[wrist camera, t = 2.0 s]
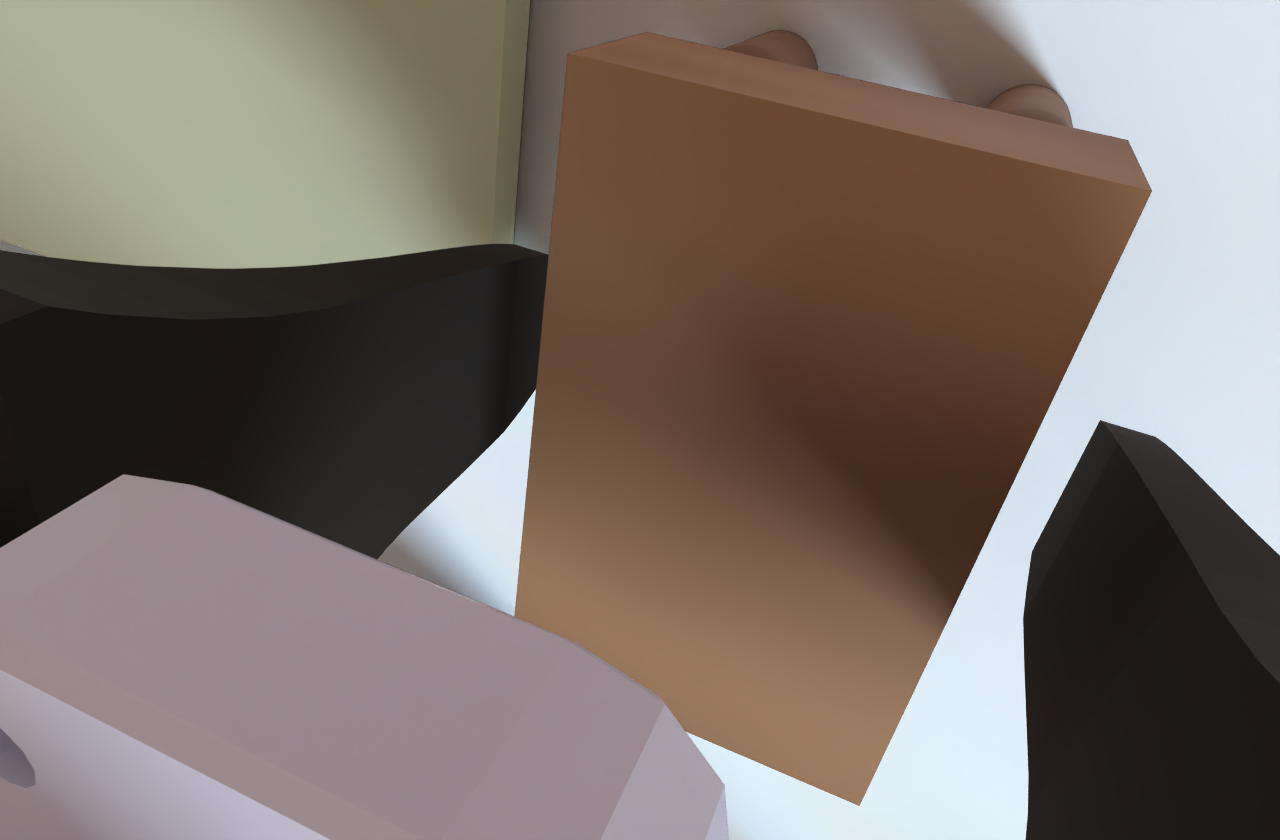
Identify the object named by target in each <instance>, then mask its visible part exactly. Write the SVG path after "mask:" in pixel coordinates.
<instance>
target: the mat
mask: <svg viewBox="0 0 1280 840" xmlns="http://www.w3.org/2000/svg"><path fill="white" fill-rule="evenodd" d="M529 13H530V0H0V240H1V241H3V242H6V243H9V244H12V245H15V246H18V247H20V248H23V249H26V250H29V251H32V252H34V253H37V254H40V255H43V256H46V257H52V258H61V259H70V260H78V261H88V262H99V263H110V264H122V265H135V266H159V267H187V268H215V269H237V268H273V267H292V266H306V265H318V264H327V263H337V262H346V261H355V260H364V259H373V258H382V257H389V256H397V255H404V254H411V253H418V252H425V251H432V250H439V249H447V248H454V247H462V246H471V245H481V244H513V240H514V226H515V211H516V197H517V183H518V169H519V155H520V140H521V126H522V112H523V98H524V84H525V69H526V55H527V41H528V27H529Z"/></svg>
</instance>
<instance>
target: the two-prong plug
mask: <svg viewBox="0 0 1280 840" xmlns="http://www.w3.org/2000/svg"><path fill="white" fill-rule="evenodd" d="M1151 192H1152V190H1151V188H1150V186H1149V184H1148V182H1147V179H1146V177H1145V175H1144V173H1143V171H1142V169H1141V167H1140V165H1139V163H1138V160H1137V158H1136V156H1135V154H1134V152H1133V150H1132V148H1131V146H1130V144H1129V141H1128V140H1125V139H1120V138H1116V137H1111V136H1107V135H1102V134H1098V133H1093V132H1089V131H1085V130H1080V129H1076V128H1073V125H1072V120H1071V116H1070V112H1069V109H1068V107H1067V105H1066V103H1065V101H1064V100H1063V99H1062V98H1061V96H1059V95H1058V94H1057V93H1056V92H1054V91H1053V90H1051V89H1049V88H1047V87H1043V86H1040V85H1021V86H1017V87H1014V88H1011V89H1009V90H1007V91H1005V92H1003V93H1002V94H1000V95H999V96H997V97H996V98H995V99H994V100H993V101H992V102H991V103H990V104H989V105H988V107H987V108H982V107H978V106H973V105H969V104H964V103H960V102H955V101H951V100H946V99H942V98H938V97H933V96H929V95H924V94H920V93H915V92H911V91H906V90H902V89H897V88H893V87H889V86H884V85H880V84H875V83H871V82H866V81H862V80H857V79H853V78H848V77H844V76H840V75H835V74H831V73H826V72H822V71H818V68H817V61H816V58H815V55H814V53H813V51H812V49H811V47H810V46H809V45H808V43H807V42H806V41H805V40H804V39H802V38H801V37H800V36H798V35H796V34H794V33H792V32H788V31H783V30H776V31H771V32H767V33H765V34H762V35H759V36H757V37H754V38H751V39H749V40H746V41H744V42H741V43H738V44H736V45H733V46H731V47H728V48H725V49H719V48H715V47H710V46H706V45H701V44H697V43H693V42H688V41H684V40H679V39H675V38H670V37H666V36H661V35H657V34H652V33H648V32H646V33H642V34H639V35H635V36H631V37H627V38H623V39H619V40H616V41H612V42H608V43H604V44H600V45H597V46H593V47H589V48H585V49H581V50H577V51H574V52H570V53H568V57H567V67H566V78H565V88H564V99H563V110H562V120H561V131H560V141H559V152H558V162H557V173H556V184H555V194H554V205H553V215H552V226H551V236H550V247H549V258H548V268H547V279H546V289H545V300H544V310H543V321H542V332H541V342H540V353H539V363H538V374H537V384H536V395H535V406H534V416H533V427H532V437H531V448H530V458H529V469H528V480H527V490H526V501H525V511H524V522H523V532H522V543H521V554H520V564H519V575H518V585H517V596H516V606H515V617H516V618H518V619H521V620H523V621H526V622H528V623H530V624H533V625H535V626H538V627H540V628H542V629H545V630H547V631H550V632H552V633H554V634H557V635H559V636H562V637H564V638H566V639H569V640H571V641H574V642H576V643H578V644H579V645H581V646H582V647H584V648H585V649H587V650H589V651H590V652H592V653H593V654H595V655H596V656H598V657H599V658H601V659H603V660H604V661H606V662H607V663H609V664H610V665H612V666H613V667H615V668H617V669H618V670H620V671H621V672H623V673H624V674H626V675H627V676H629V677H631V678H632V679H634V680H635V681H637V682H638V683H640V684H642V685H643V686H645V687H646V688H648V689H649V690H651V691H652V692H654V693H656V694H657V695H659V696H660V697H661V699H662V700H663V702H664V703H665V704H666V706H667V707H668V708H669V710H670V711H671V713H672V714H673V715H674V717H675V718H676V719H677V721H678V722H679V723H680V725H681V726H682V728H683V729H684V730H685V731H686V732H688V733H691V734H693V735H695V736H698V737H700V738H702V739H705V740H707V741H709V742H712V743H714V744H716V745H719V746H721V747H723V748H726V749H728V750H730V751H733V752H735V753H737V754H740V755H742V756H744V757H747V758H749V759H751V760H754V761H756V762H758V763H761V764H763V765H765V766H768V767H770V768H772V769H775V770H777V771H779V772H782V773H784V774H786V775H789V776H791V777H793V778H796V779H798V780H800V781H803V782H805V783H807V784H810V785H812V786H814V787H817V788H819V789H821V790H824V791H826V792H828V793H831V794H833V795H835V796H838V797H840V798H842V799H845V800H847V801H849V802H852V803H854V804H856V805H859V806H860V803H861V801H862V799H863V797H864V795H865V793H866V791H867V789H868V787H869V785H870V782H871V780H872V778H873V776H874V774H875V772H876V770H877V768H878V766H879V764H880V761H881V759H882V757H883V755H884V753H885V751H886V749H887V747H888V745H889V743H890V740H891V738H892V736H893V734H894V732H895V730H896V728H897V726H898V724H899V722H900V719H901V717H902V715H903V713H904V711H905V709H906V707H907V705H908V703H909V701H910V698H911V696H912V694H913V692H914V690H915V688H916V686H917V684H918V682H919V679H920V677H921V675H922V673H923V671H924V669H925V667H926V665H927V663H928V661H929V658H930V656H931V654H932V652H933V650H934V648H935V646H936V644H937V642H938V640H939V637H940V635H941V633H942V631H943V629H944V627H945V625H946V623H947V621H948V619H949V616H950V614H951V612H952V610H953V608H954V606H955V604H956V602H957V600H958V598H959V595H960V593H961V591H962V589H963V587H964V585H965V583H966V581H967V579H968V577H969V574H970V572H971V570H972V568H973V566H974V564H975V562H976V560H977V558H978V556H979V553H980V551H981V549H982V547H983V545H984V543H985V541H986V539H987V537H988V534H989V532H990V530H991V528H992V526H993V524H994V522H995V520H996V518H997V516H998V513H999V511H1000V509H1001V507H1002V505H1003V503H1004V501H1005V499H1006V497H1007V495H1008V492H1009V490H1010V488H1011V486H1012V484H1013V482H1014V480H1015V478H1016V476H1017V474H1018V471H1019V469H1020V467H1021V465H1022V463H1023V461H1024V459H1025V457H1026V455H1027V453H1028V450H1029V448H1030V446H1031V444H1032V442H1033V440H1034V438H1035V436H1036V434H1037V432H1038V429H1039V427H1040V425H1041V423H1042V421H1043V419H1044V417H1045V415H1046V413H1047V411H1048V408H1049V406H1050V404H1051V402H1052V400H1053V398H1054V396H1055V394H1056V392H1057V390H1058V387H1059V385H1060V383H1061V381H1062V379H1063V377H1064V375H1065V373H1066V371H1067V368H1068V366H1069V364H1070V362H1071V360H1072V358H1073V356H1074V354H1075V352H1076V350H1077V347H1078V345H1079V343H1080V341H1081V339H1082V337H1083V335H1084V333H1085V331H1086V329H1087V326H1088V324H1089V322H1090V320H1091V318H1092V316H1093V314H1094V312H1095V310H1096V308H1097V305H1098V303H1099V301H1100V299H1101V297H1102V295H1103V293H1104V291H1105V289H1106V287H1107V284H1108V282H1109V280H1110V278H1111V276H1112V274H1113V272H1114V270H1115V268H1116V266H1117V263H1118V261H1119V259H1120V257H1121V255H1122V253H1123V251H1124V249H1125V247H1126V245H1127V242H1128V240H1129V238H1130V236H1131V234H1132V232H1133V230H1134V228H1135V226H1136V223H1137V221H1138V219H1139V217H1140V215H1141V213H1142V211H1143V209H1144V207H1145V205H1146V202H1147V200H1148V198H1149V196H1150V194H1151Z"/></svg>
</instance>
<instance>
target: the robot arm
mask: <svg viewBox="0 0 1280 840" xmlns="http://www.w3.org/2000/svg"><path fill="white" fill-rule="evenodd" d="M548 258H549V255H547V254H544V253H541V252H537V251H534V250H531V249H527V248H524V247H521V246H517V245H514V244H481V245H471V246H462V247H454V248H447V249H439V250H432V251H425V252H418V253H411V254H404V255H397V256H389V257H382V258H373V259H364V260H355V261H346V262H337V263H327V264H318V265H306V266H292V267H273V268H237V269H215V268H187V267H159V266H135V265H122V264H110V263H99V262H88V261H78V260H70V259H61V258H52V257H44V256H36V255H28V254H21V253H14V252H7V251H1V250H0V840H729V837H728V824H727V811H726V798H725V785H724V784H723V782H722V781H721V780H720V778H719V777H718V775H717V774H716V773H715V771H714V770H713V769H712V767H711V766H710V764H709V763H708V762H707V760H706V759H705V758H704V756H703V755H702V754H701V752H700V751H699V749H698V748H697V747H696V745H695V744H694V743H693V741H692V740H691V738H690V737H689V736H688V734H687V733H686V732H685V730H684V729H683V728H682V726H681V725H680V723H679V722H678V721H677V719H676V718H675V717H674V715H673V714H672V713H671V711H670V710H669V708H668V707H667V706H666V704H665V703H664V702H663V700H662V699H661V697H660V696H659V695H657V694H656V693H654V692H652V691H651V690H649V689H648V688H646V687H645V686H643V685H642V684H640V683H638V682H637V681H635V680H634V679H632V678H631V677H629V676H627V675H626V674H624V673H623V672H621V671H620V670H618V669H617V668H615V667H613V666H612V665H610V664H609V663H607V662H606V661H604V660H603V659H601V658H599V657H598V656H596V655H595V654H593V653H592V652H590V651H589V650H587V649H585V648H584V647H582V646H581V645H579V644H578V643H576V642H574V641H571V640H569V639H566V638H564V637H562V636H559V635H557V634H554V633H552V632H550V631H547V630H545V629H542V628H540V627H538V626H535V625H533V624H530V623H528V622H526V621H523V620H521V619H518V618H516V617H514V616H511V615H509V614H506V613H504V612H501V611H499V610H497V609H494V608H492V607H489V606H487V605H485V604H482V603H480V602H477V601H475V600H473V599H470V598H468V597H465V596H463V595H461V594H458V593H456V592H453V591H451V590H449V589H446V588H444V587H441V586H439V585H437V584H434V583H432V582H429V581H427V580H425V579H422V578H420V577H417V576H415V575H413V574H410V573H408V572H405V571H403V570H401V569H398V568H396V567H393V566H391V565H389V564H386V563H384V562H381V561H379V560H377V559H378V558H379V557H380V555H381V554H382V553H383V552H384V551H385V549H386V548H387V547H388V546H389V545H390V544H391V543H392V542H393V541H394V540H395V539H396V538H397V536H398V535H399V534H400V533H401V532H402V531H403V530H404V529H405V528H406V527H407V526H408V525H409V524H410V523H411V522H412V521H413V520H414V519H415V518H416V517H417V516H418V515H419V514H420V513H421V512H422V511H423V510H424V509H426V508H427V507H428V506H429V505H430V504H431V503H432V502H433V501H434V500H435V499H436V498H437V497H438V496H439V495H440V494H441V493H442V492H443V491H444V490H445V489H446V488H447V487H448V486H449V485H450V484H451V483H453V482H454V481H455V480H456V479H457V478H458V477H459V476H460V475H461V474H462V473H463V472H464V471H465V470H466V469H467V468H468V467H469V466H470V465H471V464H472V463H473V462H474V461H475V460H476V459H477V458H478V457H479V456H480V455H481V454H482V453H483V452H484V451H485V450H486V449H487V448H488V447H489V446H490V445H491V444H492V443H493V442H494V441H495V440H496V439H497V438H498V437H499V436H500V435H501V434H502V433H503V432H504V431H505V430H506V429H507V427H508V426H509V425H510V423H511V422H512V421H513V420H514V418H515V417H516V416H517V414H518V413H519V412H520V411H521V409H522V408H523V406H524V405H525V403H526V402H527V401H528V399H529V398H530V396H531V395H532V394H533V392H534V391H535V389H536V384H537V374H538V363H539V353H540V342H541V332H542V321H543V310H544V300H545V289H546V279H547V268H548ZM1023 626H1024V665H1025V693H1026V718H1027V745H1028V771H1029V786H1028V819H1027V831H1026V840H1280V555H1279V554H1277V553H1276V552H1275V551H1274V550H1273V549H1272V548H1271V547H1270V546H1269V545H1268V544H1267V543H1266V542H1265V541H1264V540H1263V539H1262V538H1261V537H1260V536H1259V535H1258V534H1257V533H1256V532H1255V531H1254V530H1252V529H1251V528H1250V527H1249V526H1248V525H1247V524H1246V523H1245V522H1244V521H1243V520H1242V519H1241V518H1240V517H1239V516H1238V515H1237V514H1236V513H1235V512H1234V511H1233V510H1232V509H1231V508H1230V507H1229V506H1228V505H1227V504H1226V503H1225V502H1224V501H1223V499H1222V498H1221V497H1220V496H1219V495H1218V494H1217V493H1216V492H1215V491H1214V490H1213V489H1212V488H1211V487H1210V486H1209V485H1208V484H1207V483H1206V482H1205V481H1204V480H1203V479H1202V478H1201V477H1200V476H1199V475H1198V474H1197V473H1196V472H1195V471H1194V470H1193V469H1192V468H1191V467H1190V466H1189V465H1188V464H1187V463H1186V462H1185V461H1184V460H1183V459H1181V458H1180V457H1179V456H1178V455H1177V454H1176V453H1175V452H1174V451H1173V450H1172V449H1171V448H1169V447H1168V446H1167V445H1166V444H1165V443H1163V442H1162V441H1161V440H1159V439H1158V438H1156V437H1154V436H1151V435H1147V434H1144V433H1141V432H1137V431H1134V430H1131V429H1127V428H1124V427H1121V426H1117V425H1114V424H1111V423H1107V422H1104V421H1101V420H1100V422H1099V423H1098V425H1097V427H1096V429H1095V431H1094V433H1093V435H1092V437H1091V439H1090V441H1089V443H1088V445H1087V447H1086V449H1085V450H1084V452H1083V454H1082V456H1081V458H1080V460H1079V462H1078V464H1077V466H1076V468H1075V470H1074V472H1073V474H1072V476H1071V477H1070V479H1069V481H1068V483H1067V485H1066V487H1065V489H1064V491H1063V493H1062V495H1061V497H1060V499H1059V501H1058V503H1057V504H1056V506H1055V508H1054V510H1053V512H1052V514H1051V516H1050V518H1049V520H1048V522H1047V524H1046V526H1045V528H1044V530H1043V531H1042V533H1041V535H1040V537H1039V539H1038V541H1037V543H1036V545H1035V547H1034V549H1033V551H1032V555H1031V562H1030V569H1029V576H1028V583H1027V591H1026V599H1025V608H1024V617H1023Z"/></svg>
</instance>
